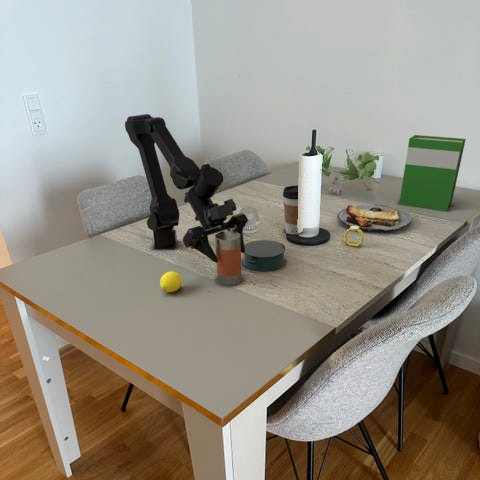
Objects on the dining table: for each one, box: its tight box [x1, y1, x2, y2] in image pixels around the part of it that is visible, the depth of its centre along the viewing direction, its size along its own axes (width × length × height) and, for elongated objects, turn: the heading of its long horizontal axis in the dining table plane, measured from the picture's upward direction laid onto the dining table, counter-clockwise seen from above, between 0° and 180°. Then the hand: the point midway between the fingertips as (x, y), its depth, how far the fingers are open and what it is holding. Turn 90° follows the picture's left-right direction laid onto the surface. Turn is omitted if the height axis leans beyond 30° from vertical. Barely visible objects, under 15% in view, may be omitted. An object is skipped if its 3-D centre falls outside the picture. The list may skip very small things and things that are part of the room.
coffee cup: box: [282, 185, 299, 236], centre depth 154 cm, size 8×8×15 cm
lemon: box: [159, 270, 183, 293], centre depth 123 cm, size 7×5×5 cm
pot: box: [242, 239, 286, 272], centre depth 137 cm, size 13×16×4 cm
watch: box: [343, 226, 365, 247], centre depth 145 cm, size 6×3×6 cm, turn 57°
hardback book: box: [398, 134, 467, 212], centre depth 172 cm, size 18×7×24 cm, turn 58°
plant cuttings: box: [305, 145, 381, 195], centre depth 193 cm, size 35×17×22 cm
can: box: [214, 230, 242, 286], centre depth 125 cm, size 7×7×13 cm
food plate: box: [336, 204, 413, 232], centre depth 163 cm, size 25×23×4 cm
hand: (230, 257), depth 124 cm, fingers open, 9 cm apart
